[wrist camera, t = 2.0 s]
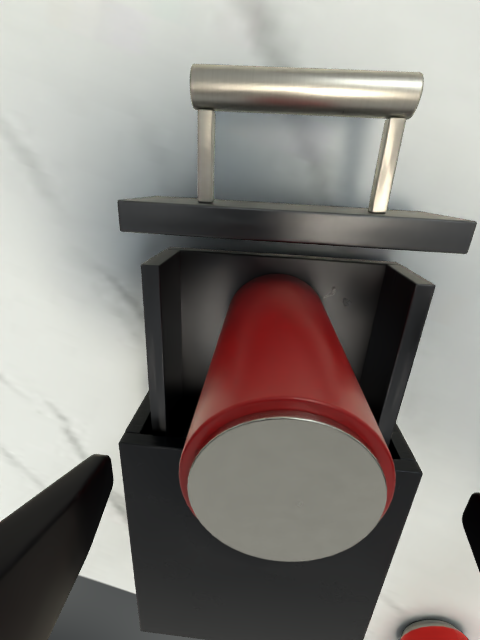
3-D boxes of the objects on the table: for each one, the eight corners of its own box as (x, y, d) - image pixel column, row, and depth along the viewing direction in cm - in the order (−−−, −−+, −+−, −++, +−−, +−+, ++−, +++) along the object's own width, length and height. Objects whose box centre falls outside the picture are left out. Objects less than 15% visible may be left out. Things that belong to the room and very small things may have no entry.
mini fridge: (159, 372, 22) (117, 443, 16) (379, 391, 21) (423, 473, 15) (167, 536, 29) (140, 631, 22) (337, 555, 28) (356, 659, 22)
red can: (332, 277, 17) (429, 418, 7) (317, 366, 19) (374, 580, 9) (228, 269, 17) (171, 395, 7) (225, 359, 19) (176, 557, 9)
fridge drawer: (151, 87, 15) (102, 47, 11) (449, 99, 14) (529, 62, 10) (166, 432, 23) (141, 491, 19) (360, 451, 22) (384, 517, 18)
